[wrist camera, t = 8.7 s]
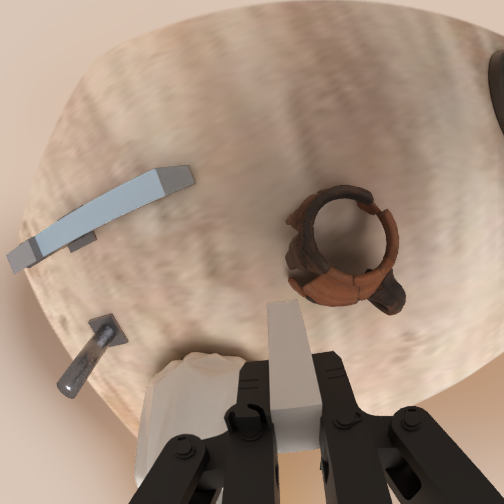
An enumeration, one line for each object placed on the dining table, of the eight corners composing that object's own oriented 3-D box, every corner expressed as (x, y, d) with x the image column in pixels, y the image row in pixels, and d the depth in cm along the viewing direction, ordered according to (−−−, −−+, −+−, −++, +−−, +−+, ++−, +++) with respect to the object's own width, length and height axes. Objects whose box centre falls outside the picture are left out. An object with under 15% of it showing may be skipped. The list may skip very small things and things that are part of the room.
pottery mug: (254, 271, 25) (261, 251, 17) (308, 193, 27) (333, 149, 19) (359, 342, 24) (405, 350, 16) (402, 261, 26) (451, 242, 18)
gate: (71, 241, 23) (14, 274, 15) (65, 226, 23) (6, 255, 15) (195, 183, 22) (160, 197, 14) (188, 165, 21) (149, 169, 13)
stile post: (112, 313, 26) (65, 373, 17) (128, 341, 28) (90, 404, 18) (89, 320, 27) (43, 375, 17) (105, 346, 28) (66, 404, 18)
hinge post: (83, 205, 23) (28, 225, 15) (96, 239, 24) (47, 269, 16) (59, 219, 23) (7, 242, 16) (72, 251, 24) (24, 282, 17)
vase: (213, 433, 32) (201, 527, 18) (132, 372, 29) (85, 474, 15) (300, 392, 30) (319, 506, 15) (218, 314, 26) (190, 452, 12)
